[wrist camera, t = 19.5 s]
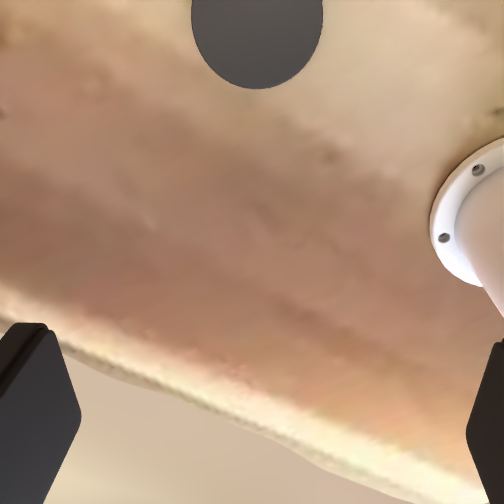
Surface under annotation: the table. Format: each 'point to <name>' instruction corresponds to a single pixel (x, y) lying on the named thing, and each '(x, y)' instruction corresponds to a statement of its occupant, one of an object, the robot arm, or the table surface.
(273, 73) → the cap
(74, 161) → the table surface
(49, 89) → the table surface
